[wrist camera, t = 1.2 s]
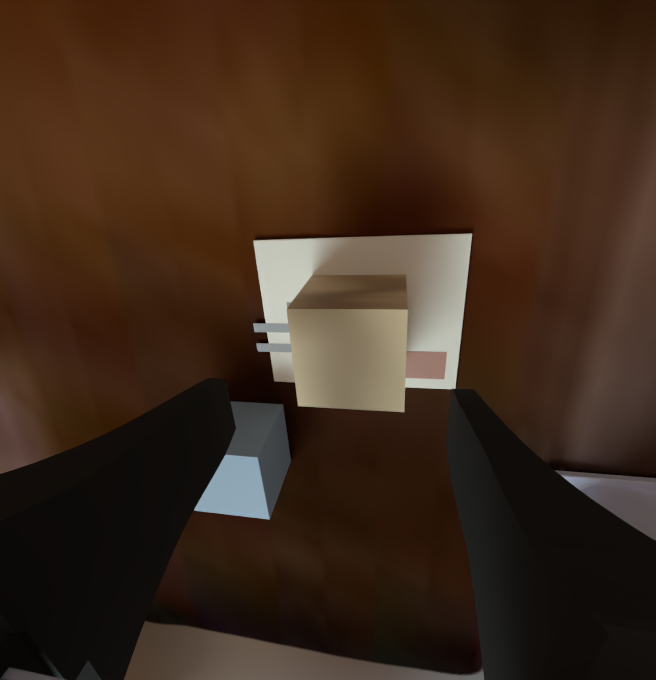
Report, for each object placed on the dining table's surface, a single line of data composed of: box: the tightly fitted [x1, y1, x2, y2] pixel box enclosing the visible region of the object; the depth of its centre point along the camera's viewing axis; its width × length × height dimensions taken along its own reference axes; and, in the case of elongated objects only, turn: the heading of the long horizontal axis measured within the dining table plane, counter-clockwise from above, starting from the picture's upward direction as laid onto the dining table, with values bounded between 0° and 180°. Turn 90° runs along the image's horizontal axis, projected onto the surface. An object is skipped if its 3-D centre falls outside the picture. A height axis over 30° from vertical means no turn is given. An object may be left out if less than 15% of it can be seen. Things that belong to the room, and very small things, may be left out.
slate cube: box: [194, 401, 291, 519], centre depth 21 cm, size 4×4×4 cm
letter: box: [253, 233, 472, 389], centre depth 18 cm, size 11×8×1 cm
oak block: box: [287, 274, 408, 412], centre depth 16 cm, size 4×4×4 cm
